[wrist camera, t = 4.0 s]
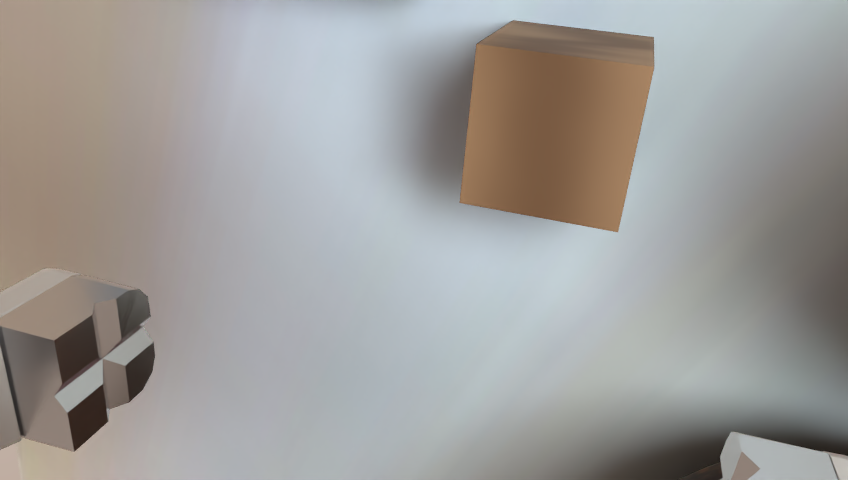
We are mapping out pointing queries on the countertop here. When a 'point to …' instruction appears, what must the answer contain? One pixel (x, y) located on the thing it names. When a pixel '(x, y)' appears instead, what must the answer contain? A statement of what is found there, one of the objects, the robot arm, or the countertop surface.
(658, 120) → the countertop surface
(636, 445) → the countertop surface
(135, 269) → the countertop surface
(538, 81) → the walnut block
